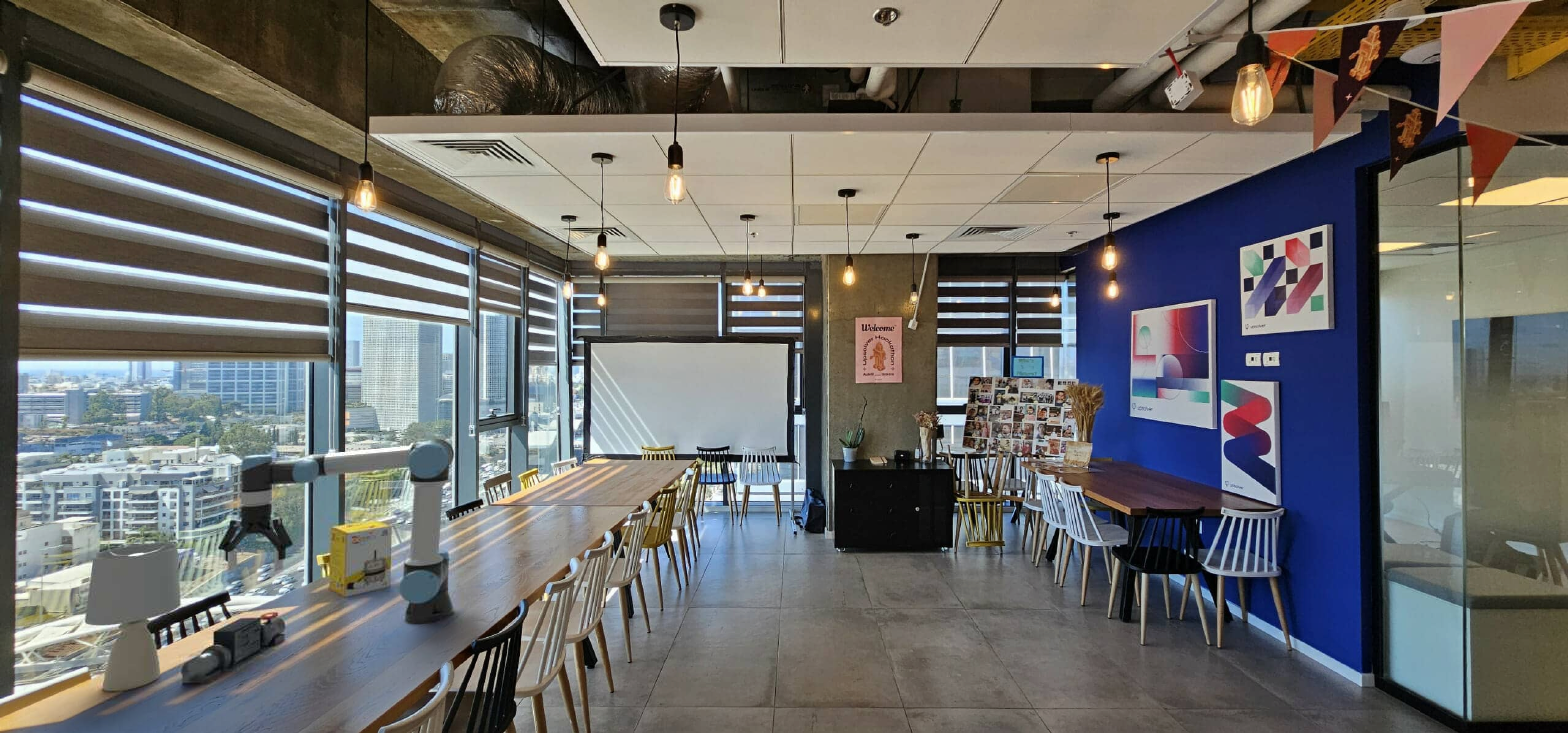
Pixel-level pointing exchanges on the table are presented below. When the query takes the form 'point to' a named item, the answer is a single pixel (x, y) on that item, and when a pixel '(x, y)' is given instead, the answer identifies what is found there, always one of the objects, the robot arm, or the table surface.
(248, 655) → the small box
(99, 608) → the lamp
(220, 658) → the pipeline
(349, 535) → the packaging box
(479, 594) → the table surface
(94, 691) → the table surface
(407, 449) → the robot arm
